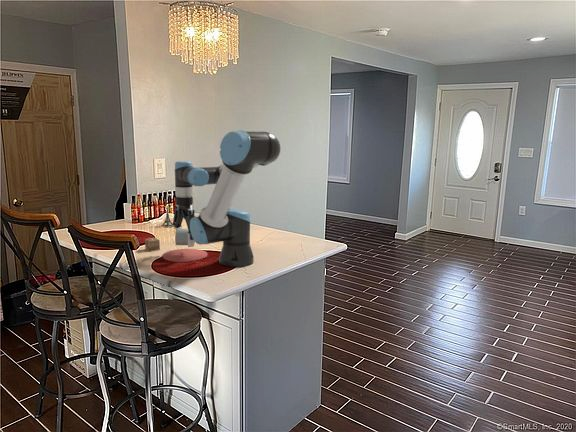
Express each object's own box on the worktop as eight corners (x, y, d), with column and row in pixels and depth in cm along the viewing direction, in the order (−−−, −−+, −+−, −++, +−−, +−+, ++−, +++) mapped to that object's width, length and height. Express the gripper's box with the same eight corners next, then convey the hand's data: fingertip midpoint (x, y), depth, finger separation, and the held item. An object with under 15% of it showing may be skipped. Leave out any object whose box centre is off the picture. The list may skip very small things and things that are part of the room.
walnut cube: (159, 249, 209) (159, 239, 208) (149, 251, 206) (149, 240, 205) (155, 247, 213) (154, 237, 212) (145, 249, 210) (144, 238, 209)
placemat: (215, 256, 199) (215, 255, 199) (175, 264, 186) (175, 263, 186) (193, 247, 214) (193, 246, 214) (154, 254, 201) (154, 253, 201)
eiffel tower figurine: (154, 228, 256) (153, 206, 253) (154, 225, 265) (153, 203, 263) (180, 227, 260) (180, 205, 257) (179, 224, 269) (179, 203, 267)
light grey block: (193, 247, 196) (193, 230, 194) (174, 246, 195) (174, 230, 194) (197, 241, 206) (196, 225, 205) (179, 241, 206) (179, 225, 204)
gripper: (205, 198, 189) (205, 248, 193) (179, 192, 206) (180, 237, 210) (189, 200, 184) (190, 250, 188) (164, 193, 201) (165, 240, 205)
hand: (184, 244), depth 199 cm, fingers closed on light grey block, 11 cm apart
